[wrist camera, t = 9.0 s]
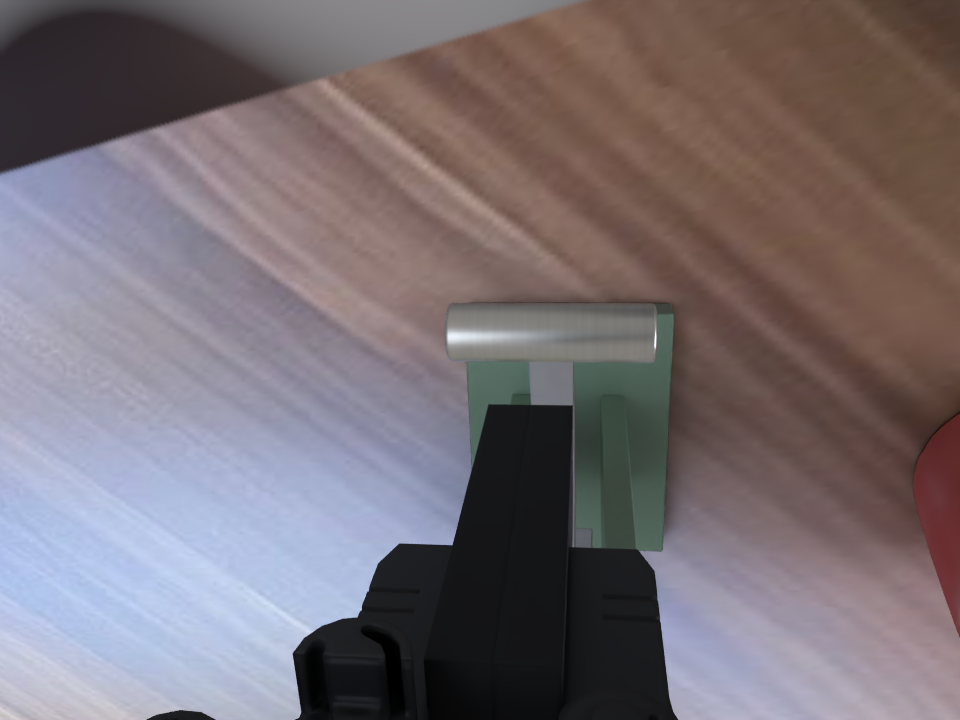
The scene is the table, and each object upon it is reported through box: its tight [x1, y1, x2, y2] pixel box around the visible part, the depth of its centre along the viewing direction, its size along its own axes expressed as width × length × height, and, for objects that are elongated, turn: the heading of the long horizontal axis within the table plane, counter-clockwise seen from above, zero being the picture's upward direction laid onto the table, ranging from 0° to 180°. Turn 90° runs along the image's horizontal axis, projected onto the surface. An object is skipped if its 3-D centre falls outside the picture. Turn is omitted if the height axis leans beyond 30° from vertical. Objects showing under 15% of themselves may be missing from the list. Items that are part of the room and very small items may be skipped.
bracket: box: [467, 303, 674, 552], centre depth 34 cm, size 12×9×14 cm
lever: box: [445, 303, 657, 548], centre depth 26 cm, size 14×5×2 cm, turn 3°
